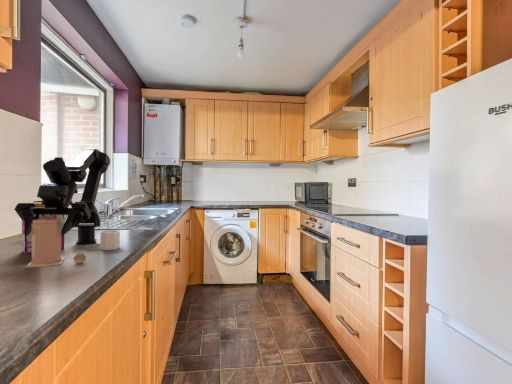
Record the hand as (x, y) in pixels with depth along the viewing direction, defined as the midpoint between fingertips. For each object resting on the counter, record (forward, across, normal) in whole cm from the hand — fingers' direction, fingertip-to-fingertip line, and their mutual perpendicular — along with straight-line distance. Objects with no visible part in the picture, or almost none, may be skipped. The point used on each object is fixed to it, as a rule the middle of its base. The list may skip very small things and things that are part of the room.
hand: (44, 234), depth 81 cm
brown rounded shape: (+5, 0, +7) cm, 8 cm away
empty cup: (-7, +12, +19) cm, 24 cm away
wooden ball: (+7, +10, +5) cm, 13 cm away
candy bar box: (-6, -9, +18) cm, 21 cm away
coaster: (+5, 0, +7) cm, 8 cm away
